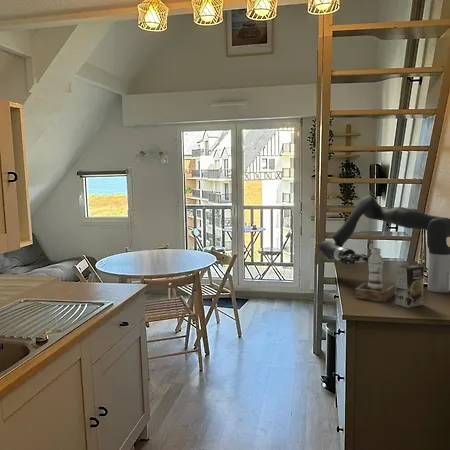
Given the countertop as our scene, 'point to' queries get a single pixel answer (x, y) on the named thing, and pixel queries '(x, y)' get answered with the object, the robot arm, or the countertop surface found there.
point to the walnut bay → (374, 293)
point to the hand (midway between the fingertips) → (362, 261)
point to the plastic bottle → (375, 270)
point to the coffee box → (409, 285)
